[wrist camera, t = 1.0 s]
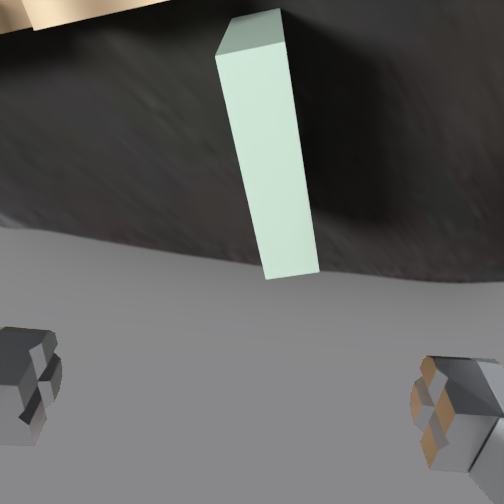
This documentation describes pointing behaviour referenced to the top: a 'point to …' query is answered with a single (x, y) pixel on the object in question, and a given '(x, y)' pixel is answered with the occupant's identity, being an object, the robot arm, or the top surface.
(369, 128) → the top surface
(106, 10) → the oak board
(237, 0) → the top surface
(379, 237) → the top surface
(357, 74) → the top surface
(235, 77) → the sage plate
